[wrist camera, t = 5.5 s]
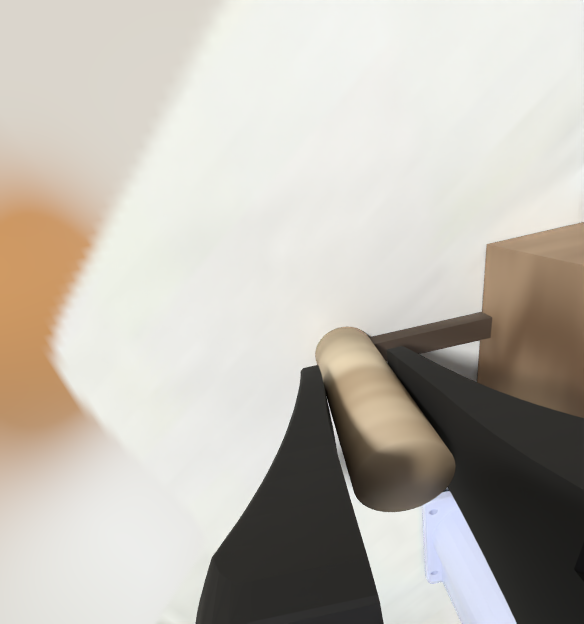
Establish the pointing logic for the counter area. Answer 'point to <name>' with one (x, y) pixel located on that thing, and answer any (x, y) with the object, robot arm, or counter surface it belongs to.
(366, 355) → the block with knob handle
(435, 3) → the counter surface
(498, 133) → the counter surface
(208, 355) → the counter surface
